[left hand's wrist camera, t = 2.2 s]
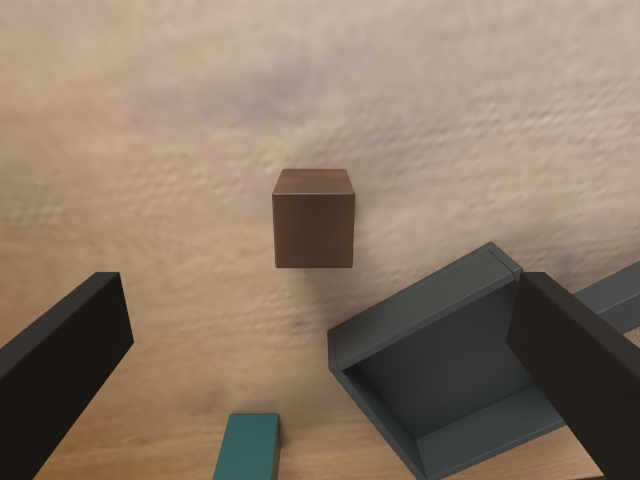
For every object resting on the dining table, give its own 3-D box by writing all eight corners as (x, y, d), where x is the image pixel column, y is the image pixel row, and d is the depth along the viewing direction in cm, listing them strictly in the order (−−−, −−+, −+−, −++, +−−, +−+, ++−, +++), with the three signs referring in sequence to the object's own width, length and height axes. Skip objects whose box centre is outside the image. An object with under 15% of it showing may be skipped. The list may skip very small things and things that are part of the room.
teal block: (233, 449, 33) (216, 524, 27) (229, 414, 31) (210, 484, 26) (280, 449, 33) (273, 523, 27) (278, 413, 31) (270, 484, 26)
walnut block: (284, 229, 25) (275, 268, 20) (282, 169, 24) (271, 193, 18) (344, 229, 25) (352, 268, 20) (346, 169, 24) (355, 193, 18)
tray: (410, 440, 32) (423, 489, 29) (326, 331, 28) (328, 370, 24) (732, 291, 27) (802, 324, 24) (687, 132, 23) (763, 140, 19)
